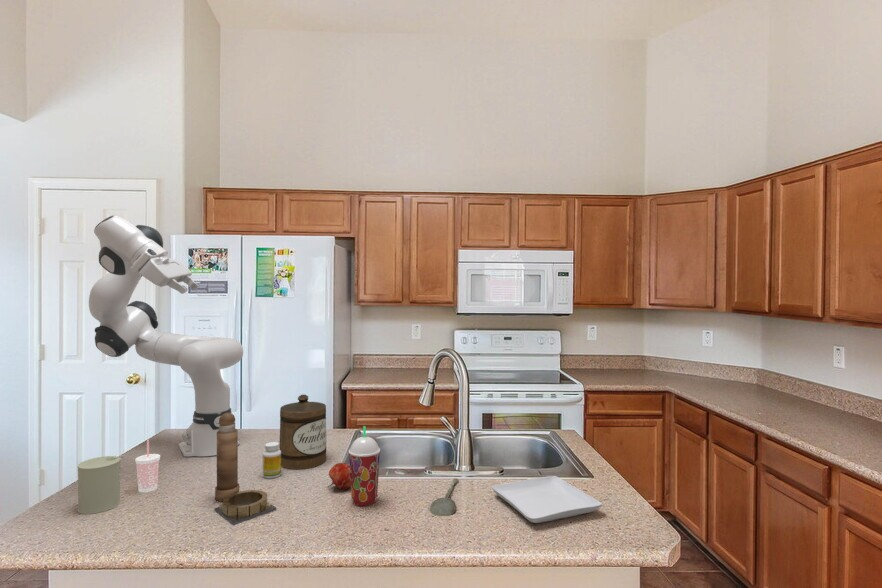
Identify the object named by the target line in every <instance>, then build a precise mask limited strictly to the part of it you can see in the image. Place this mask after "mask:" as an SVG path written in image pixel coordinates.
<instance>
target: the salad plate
mask: <svg viewBox="0 0 882 588" xmlns="http://www.w3.org/2000/svg"><path fill="white" fill-rule="evenodd" d="M491 489H492V490H493V492H494V493H495V494H496V495H498V496H499V497H500V498H501V499H502V500H503V501H505V502H506V503H507V504H509V505H510V506H511V507H512V508H514V509H515V510H516V511H517V512H519V513H520V514H521V516H523V517H524V518H525V519H527V521H529V522H530V523H534V524H539V523H547V522H552V521H556V520H561V519H562V520H563V519H565V518H572V517H576V516H580V515H582V514H589V513H592V512H594V511H596V510H598V509H600V508H601V507H602V506H603V503H602V502H601V501H599V500H597V499H596V498H595V497H593V496H591V495H589V494H588V493H586V492H584V491H583V490H580V489H578V488H577V487H575V486H574V485H573V484H570V483H569V482H567V481H566V480H564V479H563V478H560V477H559V476H556V475H548V476H541V477H534V478H529V479H522V480H517V481H516V480H515V481H510V482H506V483H499V484H494V485H491Z"/></svg>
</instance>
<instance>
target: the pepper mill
mask: <svg viewBox="0 0 882 588" xmlns="http://www.w3.org/2000/svg"><path fill="white" fill-rule="evenodd" d="M219 423H220V424H219V431H217V455H216V486H215V488H214V500H216V501H215V502H217V501H218V502H217V503H223V501H224V499H225V498H226V497H228V496H229V495H232V494H234V493H237V492H240V483H238V482H239V478H238V477H239V476H238V475H239V473H238V472H239V471H238V470H239V469H238V468H239V465H238V463H239V460H238V459H239V458H238V457H239V453H238V452H239V451H238V450H239V448H238V447H239V445H238V441H239V440H238V438H239V437H238V434H239V433H238V432H239V431H238V429H237V428H236V416H235V415H234V414H233V413H232V414H231V413H224V414H223V415H222V416H221V417H220V419H219Z"/></svg>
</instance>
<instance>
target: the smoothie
mask: <svg viewBox="0 0 882 588" xmlns="http://www.w3.org/2000/svg"><path fill="white" fill-rule="evenodd" d="M362 427H363V428H362V431H363V433H362V436H360V437H359V436H358V438H356V439H355V440H354V441H352V444H351V446H350V448H349V449H348V461H349V462H348V463H349V464H348V465H349V466H350V482H351V486H350V495H351V496H350V497H351V500H352V502H353V504H354V505H356V506H360V507H366V506H370V505H372V504H374V503H375V502H376V499H377V498H378V490H379V475H380V474H379V473H380V472H379V471H380V455H381V448H380V447H379V445H378V443H377V441H376V440H375V439H374V438H373V437H371V436H366V435H367V434H366V433H367V432H366V430H367V429H366V426H365V425H363V426H362Z"/></svg>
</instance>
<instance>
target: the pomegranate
mask: <svg viewBox="0 0 882 588" xmlns="http://www.w3.org/2000/svg"><path fill="white" fill-rule="evenodd" d="M328 476H329V478H330V479H331V484H330V485H327V488H330V487H331V486H333V485H335V486H336V487H337V488H338V489H339V490H341V491H342V490H347V489H348V488H351V482H350V466H349V464H348V463H345V462H338V463H336V464H334V465H333V466H332V467H331V468H330V469H329V472H328Z"/></svg>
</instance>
